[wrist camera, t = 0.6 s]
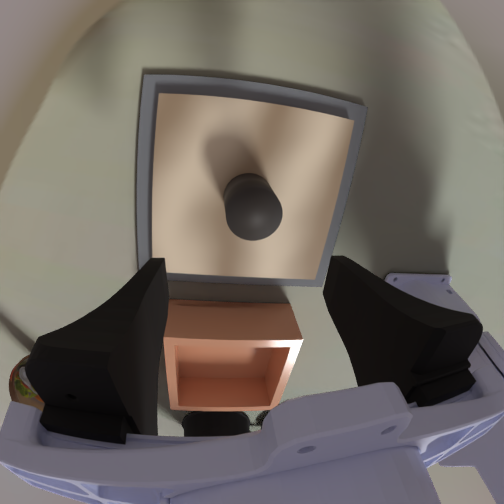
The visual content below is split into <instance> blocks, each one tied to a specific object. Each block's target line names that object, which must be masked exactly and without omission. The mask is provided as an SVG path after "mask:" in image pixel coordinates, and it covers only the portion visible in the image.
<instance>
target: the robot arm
mask: <svg viewBox="0 0 504 504" xmlns="http://www.w3.org/2000/svg"><path fill="white" fill-rule="evenodd" d="M394 278H395V279H394ZM451 279H452V277H451V276H450V275H438V274H405V273H390V274H388V275H387V276H386V278H385V281H384V280H382V279H381V278H379V277H377V276H376V275H374V274H373V273H371V272H370V271H368V270H367V269H365V268H363V267H362V266H360V265H359V264H357V263H356V262H354V261H352V260H351V259H349V258H347V257H345V256H331V258H330V263H329V268H328V272H327V277H326V281H325V285H324V290H323V296H324V299H325V302H326V306H327V309H328V311H329V314H330V316H331V318H332V320H333V322H334V324H335V326H336V328H337V330H338V333H339V335H340V337H341V339H342V341H343V343H344V345H345V347H346V350H347V352H348V354H349V357H350V360H351V364H352V367H353V370H354V373H355V377H356V380H357V384H358V387H355V388H349V389H344V390H338V391H332V392H326V393H320V394H313V395H306V396H301V397H298V398H294V399H290V400H286V401H285V402H283V403H281V404H279V405H277V406H275V407H274V408H272V409H271V410H270V412H269V413H268V414H267V416H266V417H265V418H264V420H263V425H262V429H261V430H258V431H254V432H249V433H245V434H240V435H235V436H215V437H175V436H158V428H157V391H158V369H159V360H160V354H161V348H162V343H163V338H164V333H165V328H166V323H167V318H168V306H169V292H168V283H167V274H166V264H165V258H150V259H149V260H148V261H147V262H146V263H145V264H144V265H143V267H142V268H141V269H140V270H139V271H138V272H137V273H136V274H135V275H134V276H133V277H132V278H131V279H130V280H129V281H128V282H127V283H126V284H125V285H124V286H123V287H122V288H121V289H120V290H119V291H118V292H117V293H116V294H115V295H113V296H112V297H111V298H110V299H108V300H107V301H106V302H105V303H103V304H102V305H101V306H99V307H98V308H96V309H95V310H93V311H91V312H90V313H88V314H87V315H85V316H84V317H82V318H80V319H78V320H77V321H75V322H73V323H71V324H69V325H67V326H65V327H63V328H60V329H58V330H55V331H53V332H50V333H48V334H45V335H43V336H40V337H38V339H37V341H36V343H35V345H34V347H33V349H32V351H31V353H30V356H29V358H28V360H27V362H26V365H25V373H26V376H27V378H28V380H29V382H30V384H31V385H32V387H33V388H34V389H35V391H36V392H37V394H38V395H39V396H40V398H41V399H42V401H43V402H44V403H45V405H44V408H43V412H42V411H41V410H39V409H38V408H36V407H33V406H30V405H26V404H22V403H18V402H14V401H11V402H10V405H9V407H8V410H7V413H6V416H5V419H4V422H3V425H2V428H1V431H0V464H1V465H3V466H4V467H6V468H7V469H8V470H9V471H11V472H12V473H14V474H15V475H16V476H18V477H19V478H21V479H22V480H24V481H25V482H27V483H28V484H30V485H32V486H34V487H37V488H40V489H43V490H46V491H49V492H52V493H55V494H58V495H61V496H64V497H67V498H71V499H74V500H77V501H81V502H84V503H88V504H441V502H440V500H439V498H438V495H437V492H436V490H435V488H434V485H433V483H432V480H431V478H430V476H429V473H428V471H427V469H426V468H428V467H430V466H432V465H434V464H436V463H437V462H438V463H439V465H440V466H444V467H464V466H472V467H475V468H476V469H477V471H478V473H479V474H480V476H481V478H482V479H483V481H484V483H485V484H486V486H487V488H488V489H489V491H490V493H491V495H492V497H493V498H494V500H495V502H496V504H504V350H503V349H502V348H501V346H500V345H499V344H498V343H497V342H496V340H495V339H494V338H493V337H492V336H491V335H490V333H489V332H483V326H482V324H481V322H480V320H479V318H478V316H477V315H476V314H475V312H474V311H473V310H472V309H471V308H470V307H469V306H468V305H467V304H466V302H465V301H464V300H463V299H462V298H461V297H460V296H459V295H458V294H457V293H456V292H455V291H454V289H453V288H452V287H451V286H450V285H449V284H450V282H451Z"/></svg>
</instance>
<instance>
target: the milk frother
mask: <svg viewBox="0 0 504 504" xmlns="http://www.w3.org/2000/svg"><path fill="white" fill-rule="evenodd" d="M262 425H263V423H262ZM262 425H261V429H262ZM182 426H183V428H184V437H215V436H235V435H240V434H245V433H249V432H251V431H249V426H250V420H249V418H248V417H247V416H246V415H245V414H243V413H241V412H239V411H195V412H192V413H190V414H189V415H187V416H186V417H185V418H184V419H183V422H182Z"/></svg>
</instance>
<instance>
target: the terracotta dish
mask: <svg viewBox="0 0 504 504" xmlns="http://www.w3.org/2000/svg"><path fill="white" fill-rule="evenodd" d="M163 340H164V353H165V364H166V374H167V383H168V392H169V400H170V408H171V410H187V411H257V410H271V409H272V408H274V407H275V406H277V405H278V404H279V402H280V399H281V397H282V394H283V392H284V389H285V387H286V384H287V382H288V379H289V376H290V374H291V371H292V369H293V366H294V363H295V361H296V358H297V355H298V352H299V350H300V347H301V344H302V341H303V338H302V335H301V332H300V330H299V327H298V324H297V321H296V318H295V316H294V313H293V310H292V307H291V305H290V304H285V303H245V302H219V301H198V300H180V299H169V306H168V318H167V323H166V328H165V333H164V338H163Z"/></svg>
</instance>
